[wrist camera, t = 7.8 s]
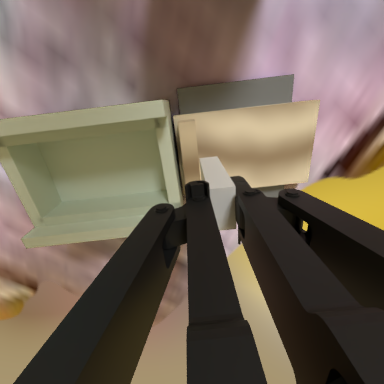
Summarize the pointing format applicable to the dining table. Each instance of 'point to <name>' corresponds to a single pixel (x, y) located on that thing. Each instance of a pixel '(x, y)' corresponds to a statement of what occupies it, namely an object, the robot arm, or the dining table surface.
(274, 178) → the cover plate
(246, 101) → the rubber mat
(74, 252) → the dining table surface
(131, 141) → the sage box
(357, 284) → the robot arm
